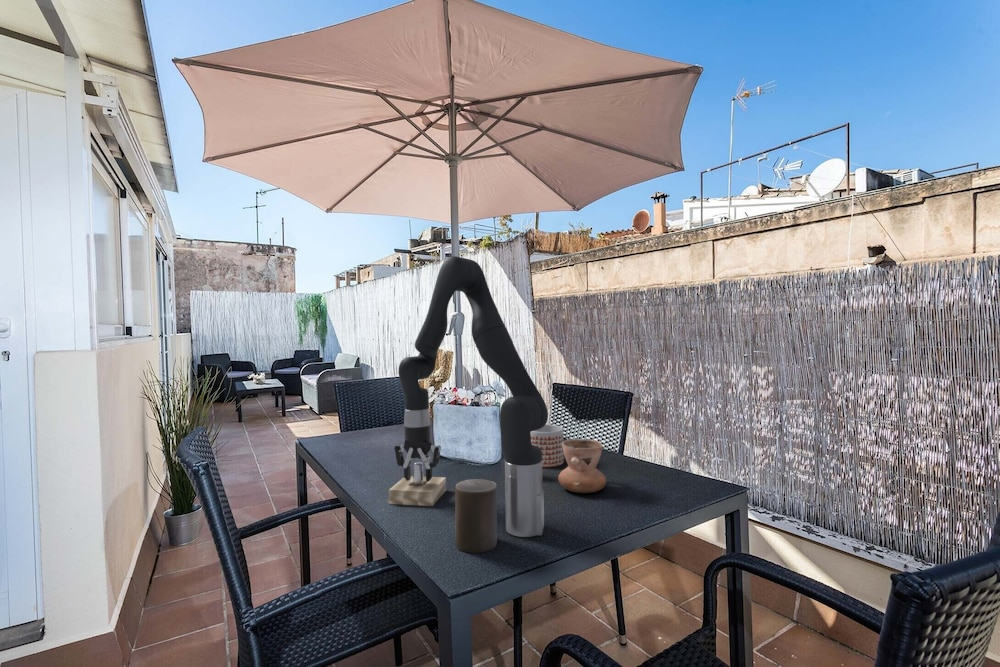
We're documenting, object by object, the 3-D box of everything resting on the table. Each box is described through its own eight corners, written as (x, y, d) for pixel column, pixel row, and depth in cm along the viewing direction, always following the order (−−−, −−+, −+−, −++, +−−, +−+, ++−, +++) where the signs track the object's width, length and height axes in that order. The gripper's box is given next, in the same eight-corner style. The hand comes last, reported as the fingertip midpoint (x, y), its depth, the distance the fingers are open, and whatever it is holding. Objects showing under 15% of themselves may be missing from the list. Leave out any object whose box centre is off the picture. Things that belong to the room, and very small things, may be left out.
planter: (533, 469, 167) (532, 433, 167) (521, 459, 180) (520, 425, 180) (569, 466, 171) (569, 430, 170) (555, 456, 184) (554, 423, 184)
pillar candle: (469, 557, 105) (469, 489, 104) (447, 541, 112) (447, 478, 112) (505, 545, 110) (505, 481, 110) (482, 531, 118) (482, 470, 118)
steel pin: (425, 495, 143) (424, 462, 143) (421, 498, 140) (421, 465, 140) (415, 494, 144) (414, 461, 144) (411, 498, 141) (411, 464, 141)
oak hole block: (445, 490, 147) (445, 477, 147) (432, 506, 135) (432, 492, 135) (405, 488, 150) (405, 475, 150) (389, 503, 137) (388, 489, 137)
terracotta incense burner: (598, 502, 136) (598, 452, 136) (550, 494, 142) (550, 446, 142) (613, 483, 152) (613, 439, 152) (569, 477, 159) (569, 434, 158)
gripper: (444, 421, 144) (445, 477, 145) (399, 420, 147) (400, 475, 147) (436, 426, 137) (437, 485, 137) (389, 425, 139) (390, 483, 140)
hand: (418, 480), depth 142 cm, fingers open, 5 cm apart
